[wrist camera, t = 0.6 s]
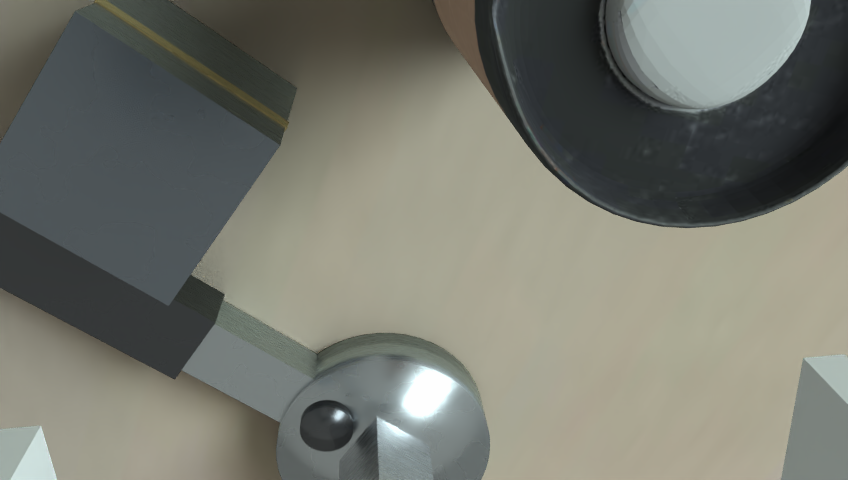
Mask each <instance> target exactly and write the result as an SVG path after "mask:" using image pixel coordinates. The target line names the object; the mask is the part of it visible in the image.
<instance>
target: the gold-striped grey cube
mask: <svg viewBox="0 0 848 480" xmlns="http://www.w3.org/2000/svg"><path fill="white" fill-rule="evenodd" d="M296 90H297V88H296V87H294V86H293V85H291V84H290V83H289V82H287V81H286V80H284V79H283V78H281V77H280V76H278V75H277V74H275V73H274V72H272V71H271V70H270V69H268V68H267V67H265V66H264V65H262V64H261V63H259V62H258V61H256V60H255V59H253V58H252V57H251V56H249V55H248V54H246V53H245V52H243V51H242V50H240V49H239V48H237V47H236V46H234V45H233V44H231V43H230V42H229V41H227V40H226V39H224V38H223V37H221V36H220V35H218V34H217V33H215V32H214V31H212V30H211V29H210V28H208V27H207V26H205V25H204V24H202V23H201V22H199V21H198V20H196V19H195V18H193V17H192V16H191V15H189V14H188V13H186V12H185V11H183V10H182V9H180V8H179V7H177V6H176V5H174V4H173V3H171V2H170V1H169V0H95V2H94V3H93V4H91V5H89V6H86V7H84V8H82V9H79V10H77V11H75V12H74V14H73V16H72V18H71V19H70V21H69V23H68V25H67V26H66V28H65V30H64V32H63V34H62V35H61V37H60V39H59V41H58V42H57V44H56V46H55V48H54V49H53V51H52V53H51V55H50V56H49V58H48V60H47V62H46V63H45V65H44V67H43V69H42V71H41V72H40V74H39V76H38V78H37V79H36V81H35V83H34V85H33V86H32V88H31V90H30V92H29V93H28V95H27V97H26V99H25V101H24V102H23V104H22V106H21V108H20V109H19V111H18V113H17V115H16V116H15V118H14V120H13V122H12V123H11V125H10V127H9V129H8V130H7V132H6V134H5V136H4V138H3V139H2V141H1V143H0V213H2V214H4V215H6V216H8V217H9V218H11V219H13V220H15V221H17V222H18V223H20V224H22V225H24V226H26V227H27V228H29V229H31V230H33V231H35V232H36V233H38V234H40V235H42V236H44V237H45V238H47V239H49V240H51V241H53V242H54V243H56V244H58V245H60V246H62V247H63V248H65V249H67V250H69V251H71V252H72V253H74V254H76V255H78V256H80V257H81V258H83V259H85V260H87V261H89V262H90V263H92V264H94V265H96V266H98V267H99V268H101V269H103V270H105V271H107V272H108V273H110V274H112V275H114V276H116V277H117V278H119V279H121V280H123V281H125V282H126V283H128V284H130V285H132V286H134V287H135V288H137V289H139V290H141V291H143V292H144V293H146V294H148V295H150V296H152V297H153V298H155V299H157V300H159V301H161V302H162V303H164V304H166V305H168V306H169V305H170V303H171V302H172V301H173V299H174V298H175V296H176V295H177V293H178V292H179V290H180V289H181V288H182V286H183V285H184V283H185V282H186V280H187V279H188V277H189V276H190V275H191V273H192V272H193V270H194V269H195V267H196V266H197V264H198V263H199V262H200V260H201V259H202V257H203V256H204V254H205V253H206V251H207V250H208V249H209V247H210V246H211V244H212V243H213V241H214V240H215V238H216V237H217V236H218V234H219V233H220V231H221V230H222V228H223V227H224V225H225V224H226V223H227V221H228V220H229V218H230V217H231V215H232V214H233V212H234V211H235V210H236V208H237V207H238V205H239V204H240V202H241V201H242V199H243V198H244V197H245V195H246V194H247V192H248V191H249V189H250V188H251V186H252V185H253V184H254V182H255V181H256V179H257V178H258V176H259V175H260V173H261V172H262V171H263V169H264V168H265V166H266V165H267V163H268V162H269V161H270V159H271V158H272V156H273V155H274V153H275V152H276V150H277V149H278V148H279V146H280V144H281V141H282V137H283V134H284V132H285V130H286V129H287V127H288V124H289V122H288V121H287V120H288V117H289V114H290V110H291V107H292V104H293V100H294V97H295V94H296Z"/></svg>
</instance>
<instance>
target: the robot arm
mask: <svg viewBox="0 0 848 480" xmlns="http://www.w3.org/2000/svg"><path fill="white" fill-rule="evenodd" d="M0 480H57V478H56V474H55V471H54V468H53V464H52V461H51V458H50V454H49V451H48V448H47V444H46V441H45V438H44V434H43V431H42V428H41V426H30V427H19V428H8V429H0ZM781 480H848V357H847V356H846V355H845V354H842V355H831V356H820V357H808V358H803V362H802V368H801V373H800V379H799V384H798V390H797V395H796V401H795V406H794V412H793V417H792V423H791V428H790V434H789V439H788V445H787V450H786V456H785V461H784V467H783V472H782V478H781Z"/></svg>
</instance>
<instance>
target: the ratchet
mask: <svg viewBox="0 0 848 480" xmlns="http://www.w3.org/2000/svg"><path fill="white" fill-rule="evenodd" d="M0 288H2V289H4V290H6V291H7V292H9V293H11V294H13V295H15V296H17V297H19V298H21V299H23V300H25V301H26V302H28V303H30V304H32V305H34V306H36V307H38V308H40V309H42V310H44V311H45V312H47V313H49V314H51V315H53V316H55V317H57V318H59V319H61V320H63V321H64V322H66V323H68V324H70V325H72V326H74V327H76V328H78V329H80V330H82V331H84V332H85V333H87V334H89V335H91V336H93V337H95V338H97V339H99V340H101V341H103V342H104V343H106V344H108V345H110V346H112V347H114V348H116V349H118V350H120V351H122V352H123V353H125V354H127V355H129V356H131V357H133V358H135V359H137V360H139V361H141V362H143V363H144V364H146V365H148V366H150V367H152V368H154V369H156V370H158V371H160V372H162V373H163V374H165V375H167V376H169V377H171V378H173V379H175V378H176V377H177V376H178V374H179V373H180V371H181V370H182V371H184V372H186V373H188V374H189V375H191V376H193V377H195V378H197V379H199V380H201V381H203V382H205V383H206V384H208V385H210V386H212V387H214V388H216V389H218V390H220V391H221V392H223V393H225V394H227V395H229V396H231V397H233V398H235V399H237V400H238V401H240V402H242V403H244V404H246V405H248V406H250V407H252V408H254V409H255V410H257V411H259V412H261V413H263V414H265V415H267V416H269V417H270V418H272V419H274V420H276V421H278V422H280V424H279V431H278V439H277V446H276V459H277V465H278V470H279V473H280V476H281V478H282V480H481V479H482V476H483V474H484V472H485V470H486V466H487V463H488V459H489V451H490V437H489V431H488V426H487V422H486V418H485V414H484V410H483V406H482V402H481V398H480V394H479V391H478V388H477V386H476V383H475V381H474V380H473V378H472V376H471V375H470V373H469V372H468V370H467V369H466V368H465V367H464V366H463V364H462V363H461V362H460V361H459V360H457V359H456V358H455V357H454V356H453V355H452V354H450V353H449V352H447V351H446V350H445V349H443V348H441V347H439V346H437V345H435V344H434V343H432V342H429V341H426V340H424V339H421V338H417V337H413V336H409V335H404V334H395V333H376V334H366V335H361V336H357V337H352V338H349V339H346V340H344V341H341V342H338V343H336V344H334V345H332V346H330V347H328V348H326V349H325V350H323V351H321V352H320V353H318V354H316V353H314V352H313V351H311V350H309V349H307V348H306V347H304V346H302V345H300V344H299V343H297V342H295V341H293V340H292V339H290V338H288V337H286V336H285V335H283V334H281V333H279V332H278V331H276V330H274V329H272V328H271V327H269V326H267V325H265V324H264V323H262V322H260V321H258V320H257V319H255V318H253V317H251V316H250V315H248V314H246V313H244V312H243V311H241V310H239V309H237V308H236V307H234V306H232V305H230V304H229V303H227V302H225V301H223V298H224V295H225V294H223V293H221V292H219V291H218V290H216V289H214V288H213V287H211V286H209V285H207V284H206V283H204V282H202V281H200V280H199V279H197V278H195V277H193V276H192V275H190V276H189V277H188V279H187V280H186V282H185V283H184V285H183V286H182V288H181V289H180V290H179V292H178V293H177V295H176V296H175V298H174V299H173V301H172V302H171V303H170V305H169V306H168V305H166V304H164V303H162V302H161V301H159V300H157V299H155V298H153V297H152V296H150V295H148V294H146V293H144V292H143V291H141V290H139V289H137V288H135V287H134V286H132V285H130V284H128V283H126V282H125V281H123V280H121V279H119V278H117V277H116V276H114V275H112V274H110V273H108V272H107V271H105V270H103V269H101V268H99V267H98V266H96V265H94V264H92V263H90V262H89V261H87V260H85V259H83V258H81V257H80V256H78V255H76V254H74V253H72V252H71V251H69V250H67V249H65V248H63V247H62V246H60V245H58V244H56V243H54V242H53V241H51V240H49V239H47V238H45V237H44V236H42V235H40V234H38V233H36V232H35V231H33V230H31V229H29V228H27V227H26V226H24V225H22V224H20V223H18V222H17V221H15V220H13V219H11V218H9V217H8V216H6V215H4V214H2V213H0Z"/></svg>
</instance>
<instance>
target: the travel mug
mask: <svg viewBox="0 0 848 480" xmlns="http://www.w3.org/2000/svg"><path fill="white" fill-rule="evenodd" d="M432 1H433V4H434V6H435V8H436V11H437V13H438V15H439V17H440V20H441V22H442V24H443V26H444V28H445V30H446V31H447V33H448V35H449V36H450V38H451V40H452V41H453V43H454V44H455V46H456V47H457V48H458V50H459V51H460V53H461V54H462V55H463V57H464V58H465V59H466V61H467V62H468V64H469V65H470V66H471V68H472V69H473V70H474V72H475V73H476V75H477V76H478V77H479V79H480V80H481V82H482V83H483V84H484V86H485V87H486V88H487V90H488V91H489V93H490V94H491V95H492V97H493V98H494V100H495V101H496V102H497V104H498V105H499V106H500V108H501V109H502V111H503V112H504V113H505V115H506V116H507V118H508V119H509V120H510V122H511V123H512V125H513V126H514V127H515V129H516V130H517V131H518V133H519V134H520V136H521V137H522V138H523V140H524V141H525V143H526V144H527V145H528V147H529V148H530V149H531V150H532V152H533V153H534V154H535V155H536V156H537V158H538V159H539V160H540V161H541V163H542V164H543V165H544V166H545V167H546V168H547V169H548V170H549V171H550V172H551V173H552V174H553V175H555V176H556V177H557V178H558V179H559V180H560V181H561V182H562V183H563V184H564V185H565V186H566V187H568V188H569V189H571V190H572V191H574V192H575V193H577V194H578V195H579V196H581V197H582V198H584V199H585V200H587V201H588V202H590V203H592V204H594V205H596V206H598V207H600V208H602V209H604V210H606V211H608V212H610V213H612V214H615V215H618V216H621V217H624V218H627V219H630V220H633V221H636V222H641V223H646V224H651V225H657V226H662V227H679V228H696V227H711V226H719V225H725V224H730V223H735V222H741V221H744V220H747V219H751V218H754V217H757V216H760V215H764V214H767V213H769V212H772V211H774V210H776V209H779V208H781V207H783V206H786V205H788V204H790V203H793V202H794V201H796V200H798V199H800V198H801V197H803V196H805V195H807V194H809V193H810V192H812V191H814V190H816V189H817V188H819V187H820V186H822V185H823V184H824V183H826V182H827V181H829V180H830V179H831V178H833V177H834V176H836V175H837V174H838V173H840V172H841V171H842V170H844V169H845V168H846V167H847V166H848V0H432Z"/></svg>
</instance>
